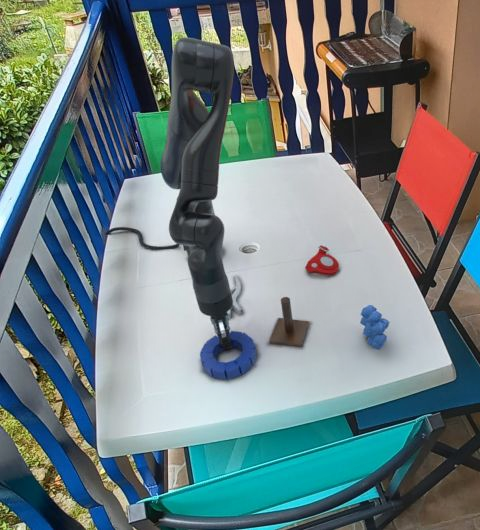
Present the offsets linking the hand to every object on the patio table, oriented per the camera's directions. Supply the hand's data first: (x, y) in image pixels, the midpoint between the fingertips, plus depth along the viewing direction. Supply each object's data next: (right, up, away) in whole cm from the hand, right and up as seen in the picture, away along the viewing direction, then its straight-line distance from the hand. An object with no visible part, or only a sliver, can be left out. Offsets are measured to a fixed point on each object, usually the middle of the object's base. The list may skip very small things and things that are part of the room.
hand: (225, 342), depth 121 cm
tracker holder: (+22, +19, +25) cm, 38 cm away
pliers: (-3, +10, +13) cm, 17 cm away
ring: (+2, -3, -3) cm, 5 cm away
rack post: (+15, +2, +4) cm, 16 cm away
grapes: (+37, 0, +2) cm, 37 cm away
